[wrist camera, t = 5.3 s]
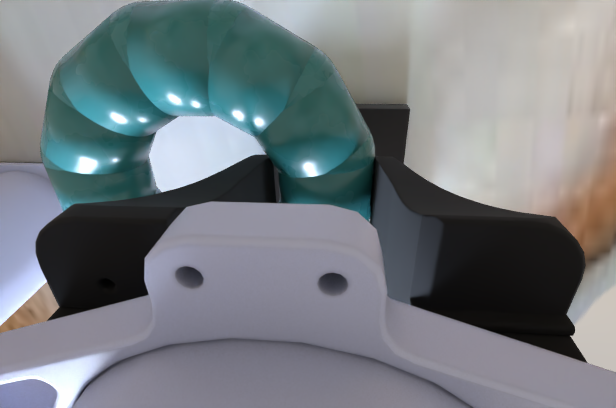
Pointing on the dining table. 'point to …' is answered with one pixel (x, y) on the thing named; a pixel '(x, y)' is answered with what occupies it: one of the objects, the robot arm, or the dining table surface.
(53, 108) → the ring
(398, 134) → the hook stand
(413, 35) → the dining table surface
